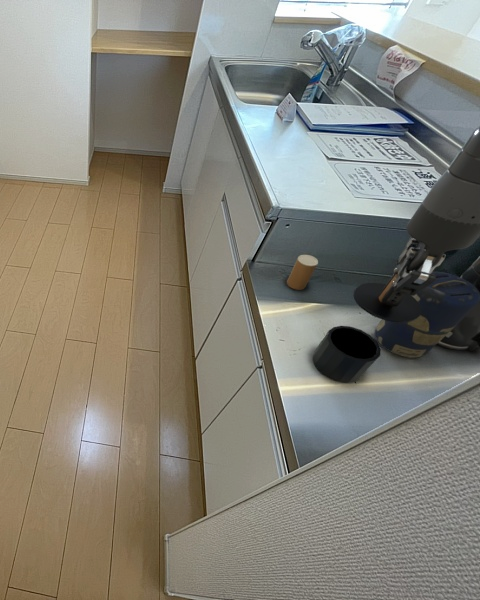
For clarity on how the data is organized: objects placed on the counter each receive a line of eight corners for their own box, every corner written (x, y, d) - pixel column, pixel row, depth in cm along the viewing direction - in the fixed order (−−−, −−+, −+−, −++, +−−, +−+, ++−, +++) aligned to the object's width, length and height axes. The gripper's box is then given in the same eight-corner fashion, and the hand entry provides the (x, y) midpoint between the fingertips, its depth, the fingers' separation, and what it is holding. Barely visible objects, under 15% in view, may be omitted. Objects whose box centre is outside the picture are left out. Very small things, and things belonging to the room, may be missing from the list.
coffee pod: (306, 282, 91) (319, 258, 85) (303, 292, 88) (316, 267, 83) (288, 276, 93) (300, 252, 87) (284, 286, 90) (296, 262, 84)
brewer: (363, 359, 73) (382, 336, 68) (358, 390, 68) (379, 368, 63) (316, 342, 77) (331, 319, 72) (308, 370, 72) (324, 348, 67)
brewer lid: (418, 298, 60) (440, 271, 56) (417, 333, 55) (442, 306, 51) (354, 280, 64) (371, 254, 60) (348, 312, 59) (366, 285, 55)
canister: (433, 363, 71) (502, 301, 58) (381, 357, 73) (437, 296, 60) (412, 328, 78) (470, 266, 65) (364, 324, 79) (411, 263, 67)
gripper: (503, 240, 41) (416, 334, 53) (491, 190, 49) (417, 281, 61) (423, 224, 44) (358, 316, 56) (424, 180, 52) (366, 268, 64)
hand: (389, 297), depth 59 cm, fingers closed on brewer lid, 2 cm apart
